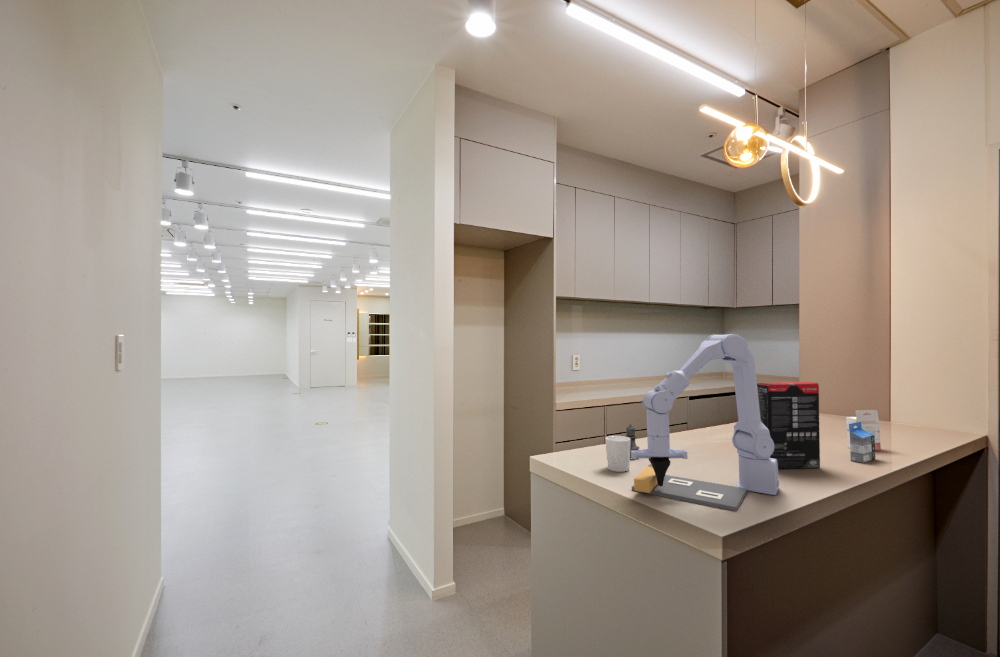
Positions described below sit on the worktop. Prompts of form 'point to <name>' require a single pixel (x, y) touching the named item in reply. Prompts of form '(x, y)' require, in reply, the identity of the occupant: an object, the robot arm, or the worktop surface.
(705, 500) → the label board
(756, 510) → the worktop surface
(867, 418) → the ink cartridge box
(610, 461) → the white cup
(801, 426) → the graphics card box
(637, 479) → the swing bar
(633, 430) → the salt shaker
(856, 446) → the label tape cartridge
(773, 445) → the robot arm
